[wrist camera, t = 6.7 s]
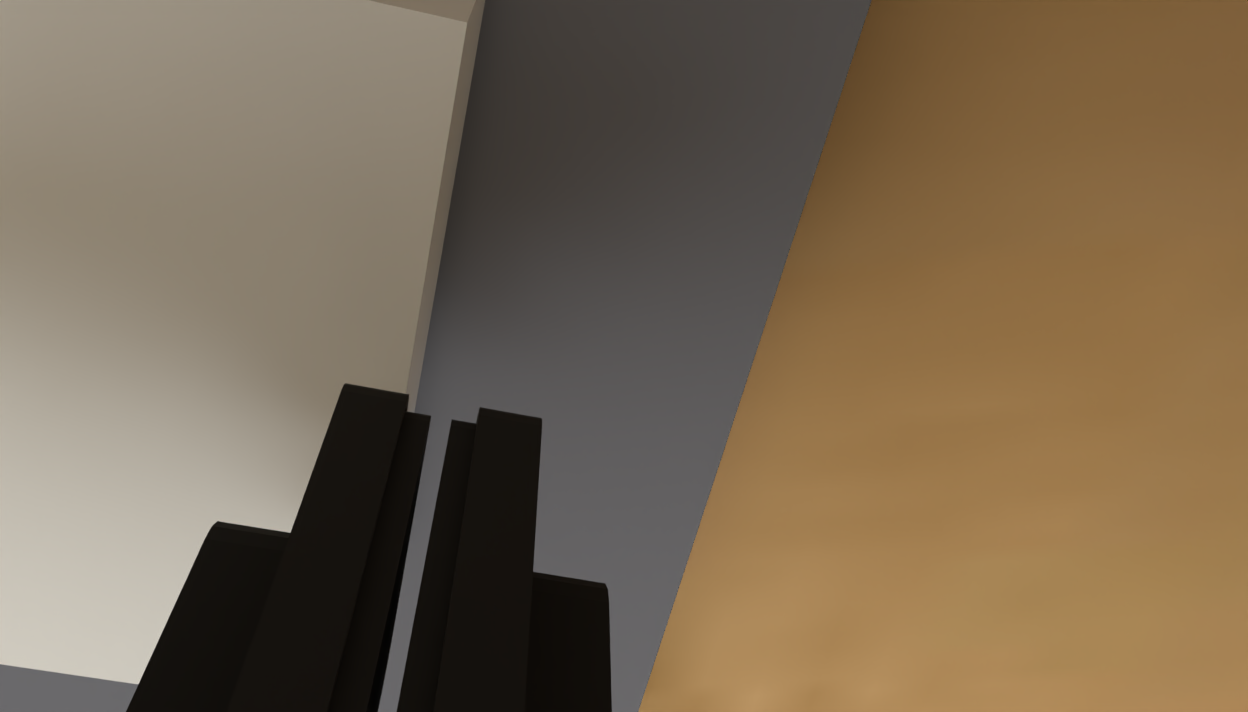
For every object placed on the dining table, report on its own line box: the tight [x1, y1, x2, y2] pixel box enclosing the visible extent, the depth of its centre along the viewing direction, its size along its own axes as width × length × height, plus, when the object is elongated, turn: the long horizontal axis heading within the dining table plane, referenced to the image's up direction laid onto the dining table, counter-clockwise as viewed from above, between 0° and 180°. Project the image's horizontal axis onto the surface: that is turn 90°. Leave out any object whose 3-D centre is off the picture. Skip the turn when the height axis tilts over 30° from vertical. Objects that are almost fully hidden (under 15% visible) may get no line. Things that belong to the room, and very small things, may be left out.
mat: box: [0, 0, 871, 712], centre depth 17 cm, size 28×16×1 cm, turn 167°
